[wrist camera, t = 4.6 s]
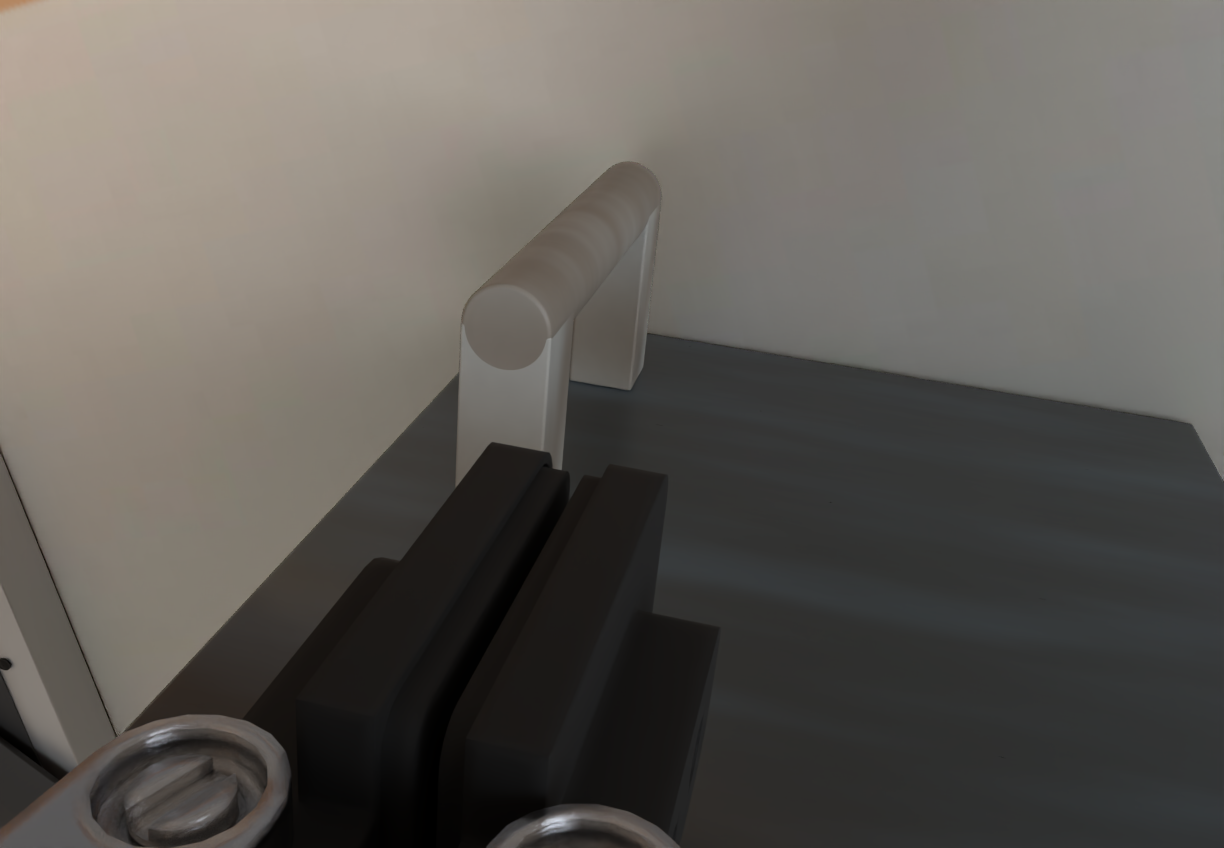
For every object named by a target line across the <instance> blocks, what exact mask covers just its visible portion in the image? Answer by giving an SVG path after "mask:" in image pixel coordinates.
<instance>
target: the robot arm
mask: <svg viewBox="0 0 1224 848" xmlns="http://www.w3.org/2000/svg"><path fill="white" fill-rule="evenodd" d="M569 493H570V474H569V472H568V471H564V470H558V469H553V464H552V457H551V454H550V452H544V451H539V450H534V449H528V448H523V447H517V446H512V445H507V444H501V443H496V442H491V443H490V444H489V445H488V446H487V447H486V449H485V450H484V451H483V453H482V454H481V455H480V457H479V458H478V459H477V461H476V462H475V463H474V465H473V466H472V467H471V468H470V470H469V471H468V472H467V474H466V475H465V476H464V478H463V479H462V480H461V482H460V483H459V484H458V486H457V487H456V488H455V490H454V491H453V492H452V493H451V495H450V496H449V497H448V499H447V500H446V501H445V503H444V504H443V505H442V507H441V508H440V509H439V511H438V512H437V513H436V514H435V516H434V517H433V518H432V520H431V521H430V522H429V524H428V525H427V526H426V528H425V529H424V530H423V532H422V533H421V534H420V536H419V537H418V538H417V539H416V541H415V542H414V543H413V545H412V546H411V547H410V549H409V550H408V551H407V553H406V554H405V555H404V557H403V558H402V559H401V560H400V561H399V560H394V559H389V558H384V557H379V558H374V559H373V560H372V561H371V562H370V563H368V564H367V565H366V566H365V567H364V569H363V570H362V571H361V572H360V574H359V575H358V576H357V577H356V578H355V580H354V581H353V582H352V583H351V585H350V586H349V587H348V588H347V590H346V591H345V592H344V593H343V595H342V596H341V597H340V598H339V600H338V601H337V602H336V603H335V605H334V606H333V607H332V608H331V609H330V611H329V612H328V613H327V614H326V616H325V617H324V618H323V619H322V621H321V622H320V623H319V624H318V626H317V627H316V628H315V629H314V631H313V632H312V633H311V634H310V635H309V637H308V638H307V639H306V640H305V642H304V643H303V644H302V645H301V647H300V648H299V649H298V650H297V652H296V653H295V654H294V655H293V657H292V658H291V659H290V660H289V662H288V663H287V664H286V665H285V666H284V668H283V669H282V670H281V671H280V673H279V674H278V675H277V676H276V678H275V679H274V680H273V681H272V683H271V684H270V685H269V686H268V688H267V689H266V690H265V691H264V693H263V694H262V695H261V696H260V697H259V699H258V700H257V701H256V702H255V704H254V705H253V706H252V707H251V709H250V710H249V711H248V712H247V714H246V715H245V716H244V717H243V719H242V720H240V719H236V718H231V717H227V716H223V715H183V716H178V717H172V718H167V719H162V720H156V721H153V722H150V723H148V724H145V725H143V726H140V727H137V728H135V729H132V730H130V731H127V732H124V733H122V734H121V735H119V736H118V737H116V738H115V739H113V740H112V741H110V742H108V743H107V744H105V745H104V746H102V747H101V748H99V749H98V750H96V751H95V752H94V753H92V754H91V755H90V756H89V757H87V758H86V759H85V760H84V761H83V762H81V763H80V764H79V765H78V766H76V767H75V768H74V769H73V770H72V771H70V772H69V773H68V774H67V775H66V776H64V777H63V778H62V779H61V780H59V781H58V782H57V783H56V784H55V785H53V786H52V787H51V788H50V789H48V790H47V791H46V792H45V793H44V794H42V795H41V796H40V797H39V798H37V799H36V800H35V801H34V802H33V803H31V804H30V805H29V806H28V807H27V808H25V809H24V810H23V811H22V812H20V813H19V814H18V815H17V816H16V817H14V818H13V819H12V820H11V821H9V822H8V823H7V824H6V825H5V826H3V827H2V828H1V829H0V848H681V847H680V843H681V838H682V834H683V830H684V826H685V821H686V817H687V813H688V809H689V804H690V800H691V796H692V791H693V787H694V782H695V778H696V773H697V768H698V763H699V759H700V754H701V748H702V743H703V738H704V733H705V727H706V722H707V716H708V711H709V705H710V699H711V693H712V686H713V680H714V674H715V667H716V661H717V655H718V648H719V641H720V632H721V629H720V627H717V626H713V625H708V624H703V623H698V622H693V621H688V620H684V619H679V618H674V617H669V616H664V615H659V614H655V613H652V612H653V604H654V596H655V588H656V580H657V573H658V565H659V557H660V549H661V541H662V533H663V525H664V518H665V510H666V502H667V493H668V475H667V474H662V473H657V472H651V471H646V470H641V469H635V468H630V467H625V466H619V465H614V464H609V465H608V467H607V468H606V470H605V472H604V474H603V476H602V478H601V477H595V476H590V475H584V476H583V477H582V479H581V481H580V482H579V484H578V486H577V488H576V490H575V491H574V493H573V495H572V497H571V499H570V500H569Z"/></svg>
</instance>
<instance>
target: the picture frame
mask: <svg viewBox="0 0 1224 848" xmlns="http://www.w3.org/2000/svg"><path fill="white" fill-rule="evenodd" d="M115 738H116V736H115V734H114V731H113V729H112V726H111V724H110V721H109V719H108V716H107V714H106V711H105V709H104V706H103V704H102V702H101V699H100V697H99V694H98V692H97V689H96V687H95V684H94V682H93V679H92V677H91V674H90V672H89V670H88V667H87V665H86V662H85V660H84V657H83V655H82V652H81V650H80V647H79V645H78V642H77V640H76V637H75V635H74V633H73V630H72V628H71V625H70V623H69V620H68V618H67V615H66V613H65V610H64V608H63V605H62V603H61V601H60V598H59V596H58V593H57V591H56V588H55V586H54V583H53V581H52V578H51V576H50V573H49V571H48V569H47V566H46V564H45V561H44V559H43V556H42V554H41V551H40V549H39V546H38V544H37V541H36V539H35V537H34V534H33V532H32V529H31V527H30V524H29V522H28V519H27V517H26V514H25V512H24V509H23V507H22V504H21V502H20V500H19V497H18V495H17V492H16V490H15V487H14V485H13V482H12V480H11V477H10V475H9V472H8V470H7V468H6V465H5V463H4V460H3V458H2V455H1V453H0V829H1V828H2V827H3V826H5V825H6V824H7V823H8V822H9V821H11V820H12V819H13V818H14V817H16V816H17V815H18V814H19V813H20V812H22V811H23V810H24V809H25V808H27V807H28V806H29V805H30V804H31V803H33V802H34V801H35V800H36V799H37V798H39V797H40V796H41V795H42V794H44V793H45V792H46V791H47V790H48V789H50V788H51V787H52V786H53V785H55V784H56V783H57V782H58V781H59V780H61V779H62V778H63V777H64V776H66V775H67V774H68V773H69V772H70V771H72V770H73V769H74V768H75V767H76V766H78V765H79V764H80V763H81V762H83V761H84V760H85V759H86V758H87V757H89V756H90V755H91V754H92V753H94V752H95V751H96V750H98V749H99V748H101V747H102V746H104V745H105V744H107V743H108V742H110V741H112V740H113V739H115Z"/></svg>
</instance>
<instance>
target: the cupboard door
mask: <svg viewBox="0 0 1224 848" xmlns="http://www.w3.org/2000/svg"><path fill="white" fill-rule="evenodd" d="M661 200H662V192H661V187H660V184H659V181H658V179H657V178H656V176H655V175H654V174H653V173H652V171H650V170H649V169H648V168H647V167H645V166H643V165H641V164H639V163H635V162H621V163H618V164H615V165H613V166H612V167H610V168H609V169H608V170H607V171H606V172H604V173H603V174H602V175H601V176H600V177H599V178H598V179H597V180H596V181H595V182H594V183H593V184H591V185H590V186H589V187H588V188H587V189H586V190H585V191H584V192H583V193H582V194H581V195H580V196H578V197H577V198H576V199H575V200H574V201H573V202H572V203H571V204H570V205H569V206H568V207H567V208H566V209H564V210H563V211H562V212H561V213H560V214H559V215H558V216H557V217H556V218H555V219H554V220H553V221H551V222H550V223H549V224H548V225H547V226H546V227H545V228H544V229H543V230H542V231H541V232H540V233H539V234H537V235H536V236H535V237H534V238H533V239H532V240H531V241H530V242H529V243H528V244H527V245H526V246H524V247H523V248H522V249H521V250H520V251H519V252H518V253H517V254H516V255H515V256H514V257H513V258H512V259H510V260H509V261H508V262H507V263H506V264H505V265H504V266H503V267H502V268H501V269H500V270H499V271H497V272H496V273H495V274H494V275H493V276H492V277H491V278H490V279H489V280H488V281H487V282H486V283H485V284H483V285H482V286H481V287H480V288H479V289H478V290H477V291H476V292H475V293H474V294H473V295H472V296H471V297H470V298H469V299H468V301H467V303H466V305H465V307H464V309H463V313H462V321H461V322H462V323H461V335H460V363H459V373H458V374H457V375H456V376H455V377H454V378H453V379H452V380H451V381H450V382H449V384H448V385H447V386H446V387H445V388H444V389H443V390H442V391H441V392H440V393H439V394H438V395H437V396H436V397H435V399H434V400H433V401H432V402H431V403H430V404H429V405H428V406H427V407H426V408H425V409H424V410H423V411H422V412H421V414H420V415H419V416H418V417H417V418H416V419H415V420H414V421H413V422H412V423H411V424H410V425H409V426H408V427H407V429H406V430H405V431H404V432H403V433H402V434H401V435H400V436H399V437H398V438H397V439H396V440H395V441H394V443H393V444H392V445H391V446H390V447H389V448H388V449H387V450H386V451H385V452H384V453H383V454H382V455H381V456H380V458H379V459H378V460H377V461H376V462H375V463H374V464H373V465H372V466H371V467H370V468H369V469H368V470H367V471H366V473H365V474H364V475H363V476H362V477H361V478H360V479H359V480H358V481H357V482H356V483H355V484H354V485H353V486H352V488H351V489H350V490H349V491H348V492H347V493H346V494H345V495H344V496H343V497H342V498H341V499H340V500H339V501H338V503H337V504H336V505H335V506H334V507H333V508H332V509H331V510H330V511H329V512H328V513H327V514H326V515H325V516H324V518H323V519H322V520H321V521H320V522H319V523H318V524H317V525H316V526H315V527H314V528H313V529H312V530H311V532H310V533H309V534H308V535H307V536H306V537H305V538H304V539H303V540H302V541H301V542H300V543H299V544H298V545H297V547H296V548H295V549H294V550H293V551H292V552H291V553H290V554H289V555H288V556H287V557H286V558H285V559H284V560H283V562H282V563H281V564H280V565H279V566H278V567H277V568H276V569H275V570H274V571H273V572H272V573H271V574H270V575H269V577H268V578H267V579H266V580H265V581H264V582H263V583H262V584H261V585H260V586H259V587H258V588H257V589H256V590H255V592H254V593H253V594H252V595H251V596H250V597H249V598H248V599H247V600H246V601H245V602H244V603H243V604H242V605H241V607H240V608H239V609H238V610H237V611H236V612H235V613H234V614H233V615H232V616H231V617H230V618H229V619H228V621H227V622H226V623H225V624H224V625H223V626H222V627H221V628H220V629H219V630H218V631H217V632H216V633H215V634H214V636H213V637H212V638H211V639H210V640H209V641H208V642H207V643H206V644H205V645H204V646H203V647H202V648H201V649H200V651H199V652H198V653H197V654H196V655H195V656H194V657H193V658H192V659H191V660H190V661H189V662H188V663H187V664H186V666H185V667H184V668H183V669H182V670H181V671H180V672H179V673H178V674H177V675H176V676H175V677H174V678H173V679H172V681H171V682H170V683H169V684H168V685H167V686H166V687H165V688H164V689H163V690H162V691H161V692H160V693H159V694H158V696H157V697H156V698H155V699H154V700H153V701H152V702H151V703H150V704H149V705H148V706H147V707H146V708H145V710H144V711H143V712H142V713H141V714H140V715H139V716H138V717H137V718H136V719H135V720H134V721H133V722H132V723H131V725H130V726H129V727H128V728H127V729H126V730H125V731H124V732H127V731H130V730H132V729H135V728H137V727H140V726H143V725H145V724H148V723H150V722H153V721H156V720H162V719H167V718H172V717H178V716H183V715H223V716H227V717H231V718H236V719H240V720H242V719H243V717H244V716H245V715H246V714H247V712H248V711H249V710H250V709H251V707H252V706H253V705H254V704H255V702H256V701H257V700H258V699H259V697H260V696H261V695H262V694H263V693H264V691H265V690H266V689H267V688H268V686H269V685H270V684H271V683H272V681H273V680H274V679H275V678H276V676H277V675H278V674H279V673H280V671H281V670H282V669H283V668H284V666H285V665H286V664H287V663H288V662H289V660H290V659H291V658H292V657H293V655H294V654H295V653H296V652H297V650H298V649H299V648H300V647H301V645H302V644H303V643H304V642H305V640H306V639H307V638H308V637H309V635H310V634H311V633H312V632H313V631H314V629H315V628H316V627H317V626H318V624H319V623H320V622H321V621H322V619H323V618H324V617H325V616H326V614H327V613H328V612H329V611H330V609H331V608H332V607H333V606H334V605H335V603H336V602H337V601H338V600H339V598H340V597H341V596H342V595H343V593H344V592H345V591H346V590H347V588H348V587H349V586H350V585H351V583H352V582H353V581H354V580H355V578H356V577H357V576H358V575H359V574H360V572H361V571H362V570H363V569H364V567H365V566H366V565H367V564H368V563H370V562H371V561H372V560H373V559H374V558H379V557H384V558H389V559H394V560H399V561H400V560H401V559H402V558H403V557H404V555H405V554H406V553H407V551H408V550H409V549H410V547H411V546H412V545H413V543H414V542H415V541H416V539H417V538H418V537H419V536H420V534H421V533H422V532H423V530H424V529H425V528H426V526H427V525H428V524H429V522H430V521H431V520H432V518H433V517H434V516H435V514H436V513H437V512H438V511H439V509H440V508H441V507H442V505H443V504H444V503H445V501H446V500H447V499H448V497H449V496H450V495H451V493H452V492H453V491H454V490H455V488H456V487H457V486H458V484H459V483H460V482H461V480H462V479H463V478H464V476H465V475H466V474H467V472H468V471H469V470H470V468H471V467H472V466H473V465H474V463H475V462H476V461H477V459H478V458H479V457H480V455H481V454H482V453H483V451H484V450H485V449H486V447H487V446H488V445H489V444H490V443H491V442H496V443H501V444H507V445H512V446H517V447H523V448H528V449H534V450H539V451H544V452H550V454H551V457H552V464H553V469H558V470H564V471H568V472H569V474H570V493H569V500H570V499H571V497H572V495H573V493H574V491H575V490H576V488H577V486H578V484H579V482H580V481H581V479H582V477H583V476H584V475H590V476H595V477H601V478H602V476H603V474H604V472H605V470H606V468H607V467H608V465H609V464H614V465H619V466H625V467H630V468H635V469H641V470H646V471H651V472H657V473H662V474H667V475H668V493H667V502H666V510H665V518H664V525H663V533H662V541H661V549H660V557H659V565H658V573H657V580H656V588H655V596H654V604H653V612H652V613H655V614H659V615H664V616H669V617H674V618H679V619H684V620H688V621H693V622H698V623H703V624H708V625H713V626H717V627H720V629H721V632H720V641H719V648H718V655H717V661H716V667H715V674H714V680H713V686H712V693H711V699H710V705H709V711H708V716H707V722H706V727H705V733H704V738H703V743H702V748H701V754H700V759H699V763H698V768H697V773H696V778H695V782H694V787H693V791H692V796H691V800H690V804H689V809H688V813H687V817H686V821H685V826H684V830H683V834H682V838H681V843H680V847H681V848H1224V482H1223V480H1222V478H1221V476H1220V474H1219V473H1218V471H1217V469H1216V467H1215V465H1214V463H1213V462H1212V460H1211V458H1210V456H1209V454H1208V452H1207V451H1206V449H1205V447H1204V445H1203V443H1202V441H1201V440H1200V438H1199V436H1198V434H1197V432H1196V430H1195V429H1194V427H1193V425H1192V424H1188V423H1182V422H1176V421H1170V420H1164V419H1158V418H1152V417H1146V416H1140V415H1134V414H1128V413H1122V412H1116V411H1110V410H1104V409H1098V408H1092V407H1086V406H1080V405H1074V404H1068V403H1062V402H1056V401H1050V400H1044V399H1038V398H1032V397H1026V396H1020V395H1014V394H1008V393H1002V392H996V391H990V390H984V389H978V388H972V387H966V386H960V385H954V384H948V383H942V382H936V381H930V380H924V379H918V378H912V377H906V376H900V375H894V374H888V373H882V372H876V371H870V370H864V369H858V368H852V367H846V366H840V365H834V364H828V363H822V362H816V361H810V360H804V359H798V358H792V357H785V356H779V355H773V354H767V353H761V352H755V351H749V350H743V349H737V348H731V347H725V346H719V345H713V344H707V343H701V342H695V341H689V340H683V339H677V338H671V337H665V336H659V335H653V334H647V328H648V319H649V310H650V301H651V292H652V282H653V273H654V264H655V255H656V246H657V237H658V228H659V218H660V209H661ZM124 732H123V733H124Z"/></svg>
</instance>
